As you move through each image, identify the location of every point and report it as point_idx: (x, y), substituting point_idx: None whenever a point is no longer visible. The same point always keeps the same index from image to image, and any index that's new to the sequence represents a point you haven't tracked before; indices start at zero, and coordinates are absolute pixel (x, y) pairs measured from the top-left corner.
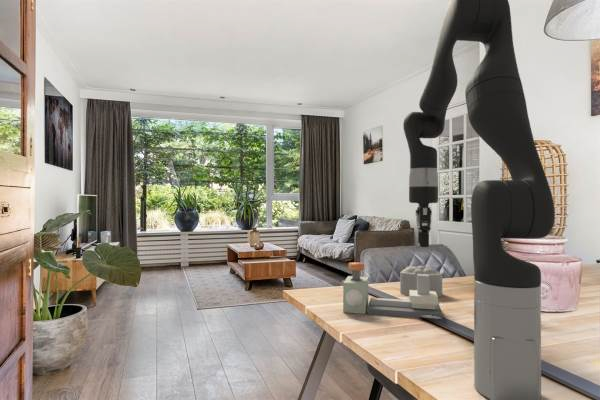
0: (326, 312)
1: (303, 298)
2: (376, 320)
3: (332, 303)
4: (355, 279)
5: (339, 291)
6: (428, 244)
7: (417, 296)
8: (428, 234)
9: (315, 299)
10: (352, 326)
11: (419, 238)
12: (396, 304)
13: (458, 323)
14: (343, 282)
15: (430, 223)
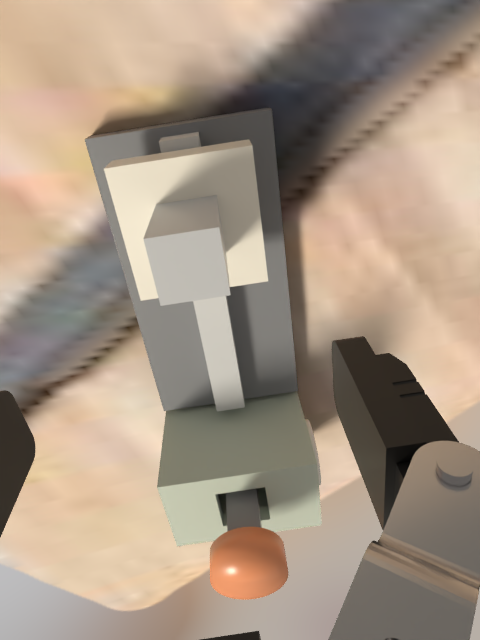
0: None
1: (194, 559)
2: None
3: None
4: (259, 509)
5: (36, 517)
6: (368, 348)
7: (263, 247)
8: (417, 430)
9: None
10: (438, 383)
11: (13, 486)
12: (229, 314)
13: (297, 28)
14: (318, 525)
15: (457, 580)
